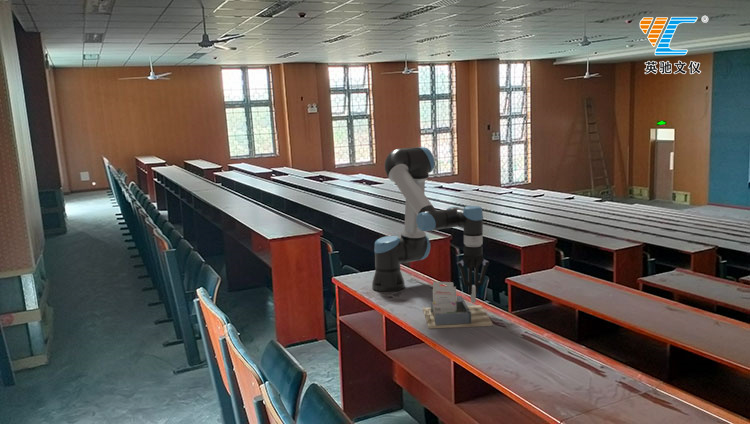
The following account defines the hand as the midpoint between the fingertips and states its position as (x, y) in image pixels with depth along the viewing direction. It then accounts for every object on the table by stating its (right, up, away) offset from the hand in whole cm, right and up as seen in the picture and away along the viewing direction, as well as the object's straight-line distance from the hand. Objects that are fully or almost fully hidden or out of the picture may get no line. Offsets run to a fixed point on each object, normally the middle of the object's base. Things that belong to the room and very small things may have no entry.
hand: (473, 301), depth 237 cm
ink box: (-12, -5, -9) cm, 16 cm away
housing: (-11, -4, -8) cm, 14 cm away
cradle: (-8, -5, -8) cm, 12 cm away
